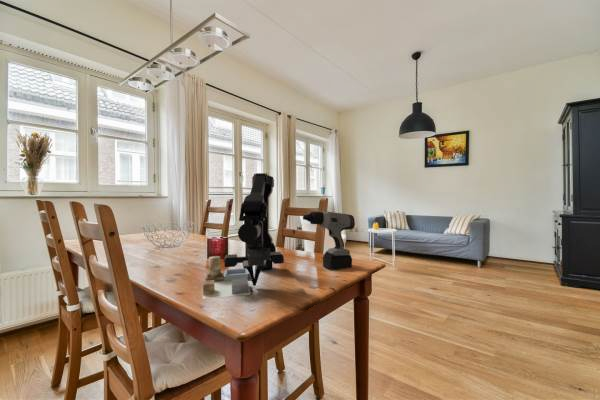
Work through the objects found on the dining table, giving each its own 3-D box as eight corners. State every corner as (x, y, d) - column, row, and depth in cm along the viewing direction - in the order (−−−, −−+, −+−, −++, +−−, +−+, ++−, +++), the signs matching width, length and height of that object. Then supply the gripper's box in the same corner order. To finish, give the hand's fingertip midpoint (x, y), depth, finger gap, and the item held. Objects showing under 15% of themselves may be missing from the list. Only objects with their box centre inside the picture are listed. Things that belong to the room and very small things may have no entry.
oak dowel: (221, 277, 99) (220, 255, 98) (220, 280, 95) (219, 258, 94) (210, 278, 98) (209, 256, 98) (208, 281, 94) (208, 259, 94)
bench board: (246, 275, 105) (246, 272, 105) (250, 298, 81) (250, 294, 81) (209, 277, 102) (209, 274, 102) (202, 302, 78) (202, 298, 78)
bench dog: (214, 289, 85) (214, 280, 85) (213, 294, 81) (213, 283, 81) (204, 290, 84) (204, 280, 84) (203, 295, 81) (203, 284, 81)
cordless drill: (300, 269, 114) (299, 211, 113) (347, 263, 123) (347, 209, 123) (307, 273, 107) (307, 212, 106) (357, 267, 116) (357, 210, 116)
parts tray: (246, 273, 103) (246, 268, 103) (247, 279, 96) (247, 273, 96) (225, 275, 101) (225, 269, 101) (224, 281, 94) (224, 275, 94)
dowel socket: (224, 276, 100) (224, 272, 100) (223, 281, 94) (223, 276, 94) (207, 277, 98) (207, 273, 98) (205, 282, 93) (205, 278, 93)
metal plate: (247, 285, 89) (247, 278, 89) (248, 292, 82) (248, 284, 82) (232, 286, 88) (232, 279, 88) (231, 294, 81) (231, 286, 81)
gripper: (223, 243, 76) (224, 297, 76) (287, 240, 81) (287, 291, 81) (224, 237, 87) (225, 284, 87) (280, 235, 91) (280, 280, 92)
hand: (254, 285), depth 86 cm, fingers closed
